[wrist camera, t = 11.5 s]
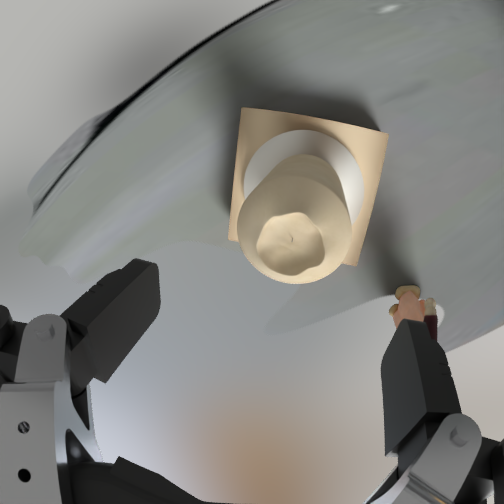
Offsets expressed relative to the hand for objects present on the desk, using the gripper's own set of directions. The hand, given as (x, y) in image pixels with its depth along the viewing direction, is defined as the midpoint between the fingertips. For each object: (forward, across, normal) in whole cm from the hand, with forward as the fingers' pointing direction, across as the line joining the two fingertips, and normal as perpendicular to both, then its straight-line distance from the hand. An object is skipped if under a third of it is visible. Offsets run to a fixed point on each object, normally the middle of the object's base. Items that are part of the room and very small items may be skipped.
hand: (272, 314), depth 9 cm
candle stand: (+18, 0, 0) cm, 18 cm away
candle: (+14, 0, 0) cm, 15 cm away
